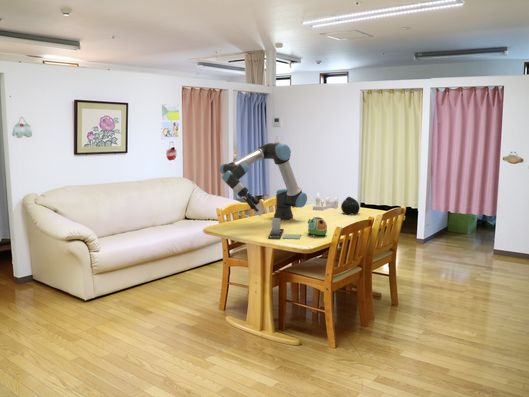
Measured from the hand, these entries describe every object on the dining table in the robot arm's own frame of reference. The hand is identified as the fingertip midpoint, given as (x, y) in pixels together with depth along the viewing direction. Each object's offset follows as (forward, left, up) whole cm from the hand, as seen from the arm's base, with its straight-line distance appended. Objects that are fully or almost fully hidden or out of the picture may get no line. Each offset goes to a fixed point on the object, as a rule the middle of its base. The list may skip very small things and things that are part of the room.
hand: (262, 212), depth 329 cm
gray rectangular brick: (+7, +6, -15) cm, 17 cm away
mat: (+19, +9, -15) cm, 25 cm away
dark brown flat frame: (+7, +6, -15) cm, 17 cm away
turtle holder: (+25, +26, -15) cm, 39 cm away
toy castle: (-39, +109, -15) cm, 117 cm away
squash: (-9, +106, -15) cm, 108 cm away
